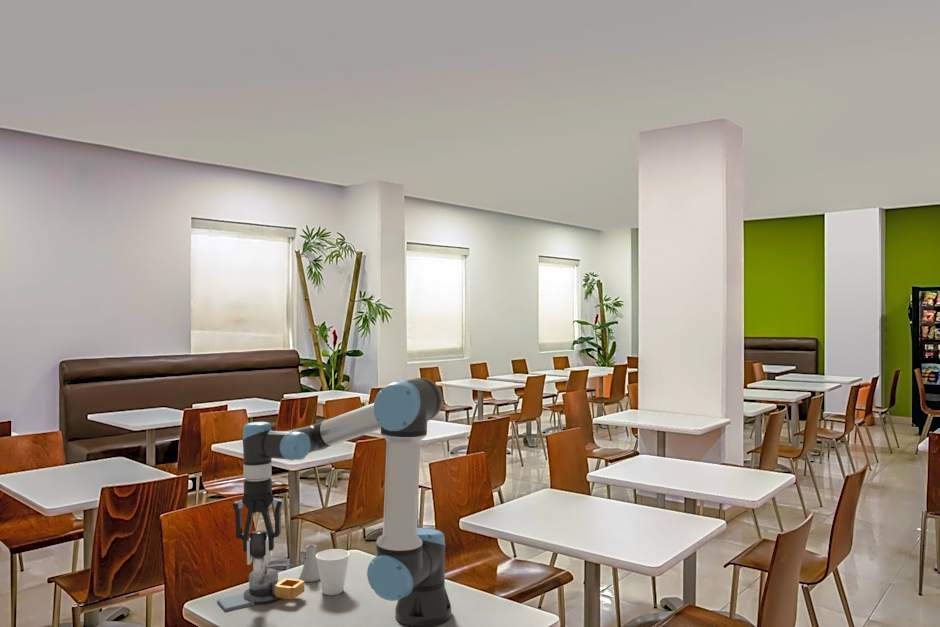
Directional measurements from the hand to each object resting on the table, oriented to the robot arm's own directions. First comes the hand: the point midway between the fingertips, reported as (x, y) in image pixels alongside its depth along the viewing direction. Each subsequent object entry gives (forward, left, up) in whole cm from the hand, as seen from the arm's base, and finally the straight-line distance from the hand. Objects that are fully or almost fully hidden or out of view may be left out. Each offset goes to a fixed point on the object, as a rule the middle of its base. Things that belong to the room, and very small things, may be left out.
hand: (258, 562), depth 196 cm
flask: (+13, -21, -13) cm, 28 cm away
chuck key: (0, 0, -6) cm, 6 cm away
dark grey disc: (+7, -4, -13) cm, 15 cm away
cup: (-1, -22, -13) cm, 25 cm away
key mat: (+7, +4, -13) cm, 15 cm away
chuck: (+4, -6, -11) cm, 13 cm away
